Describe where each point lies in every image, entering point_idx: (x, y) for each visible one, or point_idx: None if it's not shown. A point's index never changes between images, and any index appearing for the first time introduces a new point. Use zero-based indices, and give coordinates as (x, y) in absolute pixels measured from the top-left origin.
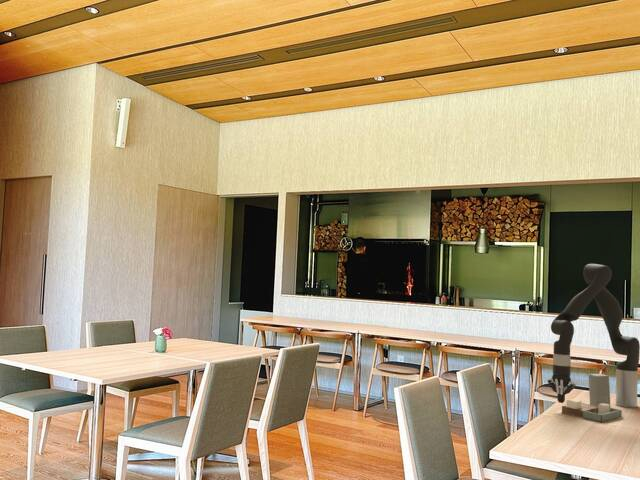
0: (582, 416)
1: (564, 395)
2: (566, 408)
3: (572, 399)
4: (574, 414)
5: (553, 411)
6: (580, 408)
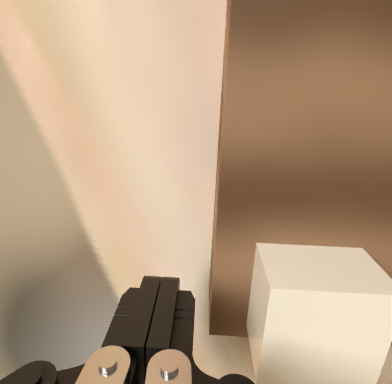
0: None
1: (192, 362)
2: None
3: (286, 301)
4: None
5: None
6: None
